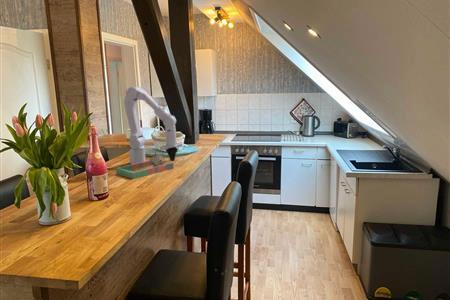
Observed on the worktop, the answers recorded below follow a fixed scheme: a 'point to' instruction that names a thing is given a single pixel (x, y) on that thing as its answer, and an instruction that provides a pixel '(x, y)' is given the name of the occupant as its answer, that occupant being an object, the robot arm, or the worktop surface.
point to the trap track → (128, 173)
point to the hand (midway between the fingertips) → (172, 160)
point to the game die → (157, 160)
